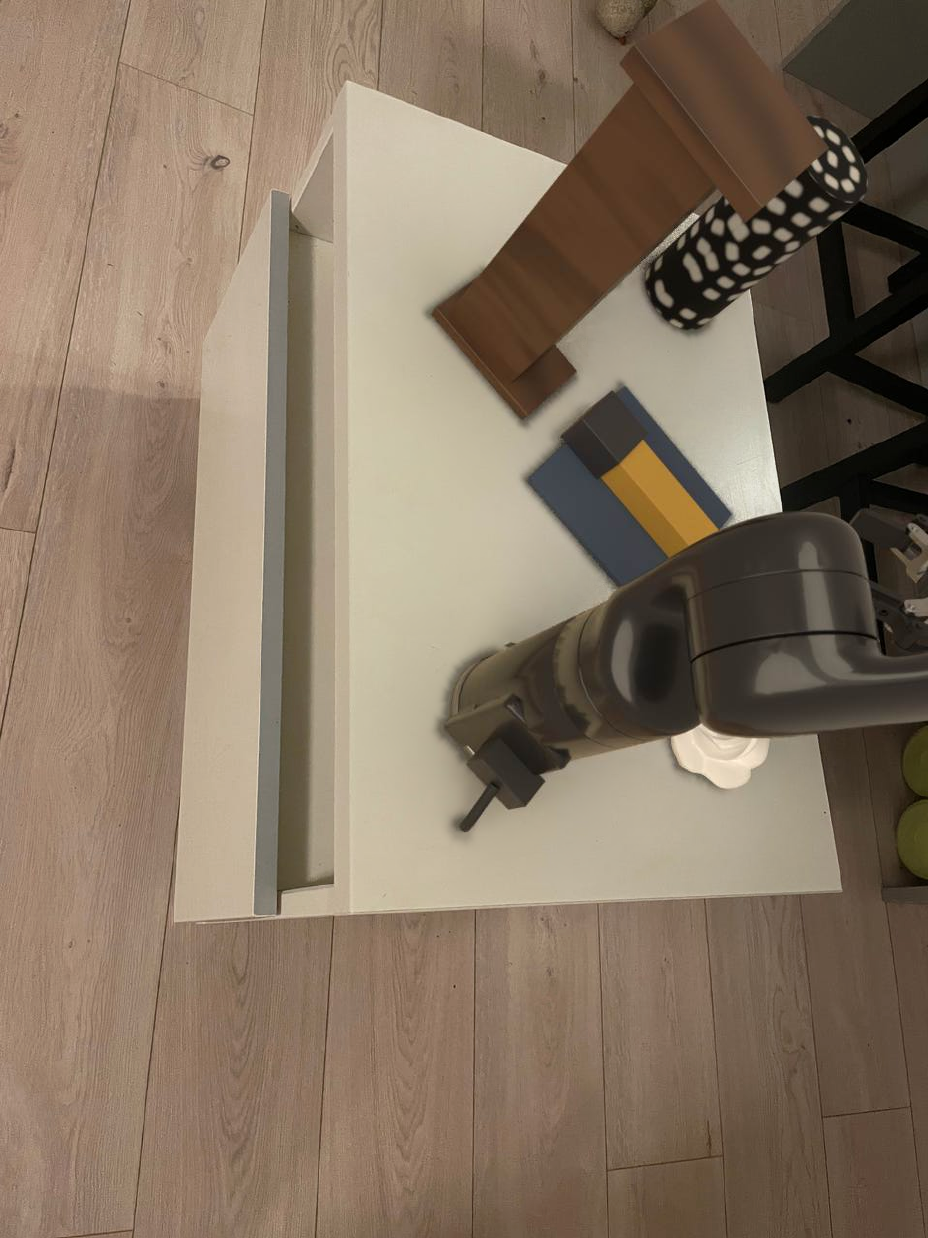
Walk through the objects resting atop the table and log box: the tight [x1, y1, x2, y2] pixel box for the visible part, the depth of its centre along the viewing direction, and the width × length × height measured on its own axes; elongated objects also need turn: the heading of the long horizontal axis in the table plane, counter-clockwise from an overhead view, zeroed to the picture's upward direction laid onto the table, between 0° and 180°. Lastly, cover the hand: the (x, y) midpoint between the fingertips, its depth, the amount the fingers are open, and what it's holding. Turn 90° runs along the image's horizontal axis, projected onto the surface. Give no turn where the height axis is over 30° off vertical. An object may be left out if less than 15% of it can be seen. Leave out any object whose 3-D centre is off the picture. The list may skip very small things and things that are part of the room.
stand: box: [430, 0, 829, 421], centre depth 69 cm, size 10×12×30 cm
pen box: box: [560, 390, 719, 558], centre depth 82 cm, size 5×20×4 cm, turn 48°
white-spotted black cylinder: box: [645, 115, 869, 331], centre depth 86 cm, size 8×8×20 cm
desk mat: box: [526, 385, 733, 588], centre depth 84 cm, size 16×16×1 cm
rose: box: [670, 723, 771, 790], centre depth 79 cm, size 10×4×10 cm
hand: (850, 550), depth 70 cm, fingers open, 8 cm apart
